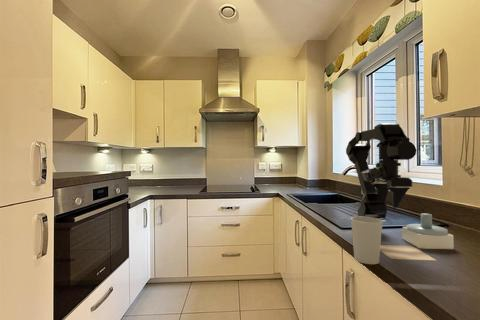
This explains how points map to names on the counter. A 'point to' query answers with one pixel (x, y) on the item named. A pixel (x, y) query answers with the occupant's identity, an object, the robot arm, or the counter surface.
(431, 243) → the dish
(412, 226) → the lid
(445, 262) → the counter surface
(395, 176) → the robot arm
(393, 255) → the mat
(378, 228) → the cup
